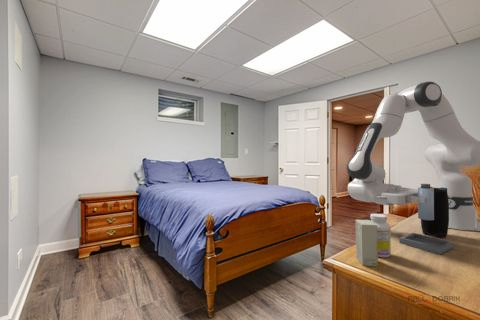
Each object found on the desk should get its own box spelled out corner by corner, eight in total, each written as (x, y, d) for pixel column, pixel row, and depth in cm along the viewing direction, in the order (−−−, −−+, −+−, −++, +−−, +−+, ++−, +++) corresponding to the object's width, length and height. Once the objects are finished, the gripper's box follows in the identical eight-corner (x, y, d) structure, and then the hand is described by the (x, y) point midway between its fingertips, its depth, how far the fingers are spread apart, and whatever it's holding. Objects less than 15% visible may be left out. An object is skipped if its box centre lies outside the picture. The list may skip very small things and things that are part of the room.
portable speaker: (450, 235, 91) (451, 187, 91) (444, 240, 86) (445, 189, 86) (424, 229, 98) (425, 185, 98) (417, 234, 93) (417, 187, 93)
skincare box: (378, 267, 65) (378, 225, 65) (361, 265, 66) (361, 224, 66) (370, 257, 71) (370, 219, 71) (355, 256, 72) (355, 218, 72)
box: (413, 237, 89) (413, 232, 89) (453, 248, 78) (453, 242, 78) (399, 243, 83) (399, 237, 83) (440, 255, 73) (440, 248, 73)
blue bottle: (420, 216, 84) (420, 183, 84) (435, 219, 80) (435, 184, 80) (416, 218, 81) (415, 184, 81) (431, 220, 78) (431, 185, 78)
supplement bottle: (370, 248, 78) (370, 211, 78) (393, 254, 74) (393, 215, 73) (363, 253, 74) (364, 215, 74) (387, 260, 69) (387, 219, 69)
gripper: (373, 188, 86) (415, 193, 74) (399, 185, 97) (440, 188, 85) (373, 204, 86) (415, 212, 74) (399, 199, 97) (440, 205, 85)
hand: (428, 199), depth 80 cm, fingers closed on blue bottle, 4 cm apart
